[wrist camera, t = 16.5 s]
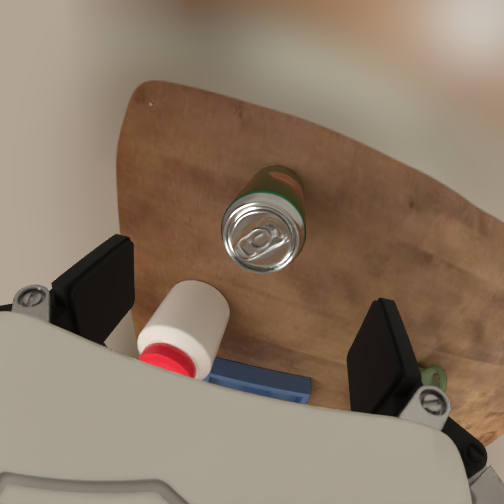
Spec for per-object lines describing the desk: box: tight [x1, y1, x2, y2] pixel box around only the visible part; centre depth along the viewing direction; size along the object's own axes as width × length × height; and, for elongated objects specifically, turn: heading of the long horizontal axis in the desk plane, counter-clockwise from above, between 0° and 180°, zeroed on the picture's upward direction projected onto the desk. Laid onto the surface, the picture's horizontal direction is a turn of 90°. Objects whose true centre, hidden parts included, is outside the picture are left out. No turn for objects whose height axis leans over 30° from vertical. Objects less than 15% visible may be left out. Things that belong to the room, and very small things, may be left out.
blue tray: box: [203, 357, 311, 404], centre depth 38 cm, size 14×12×3 cm
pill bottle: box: [137, 280, 230, 380], centre depth 30 cm, size 8×8×11 cm
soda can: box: [221, 166, 306, 274], centre depth 22 cm, size 5×5×12 cm
